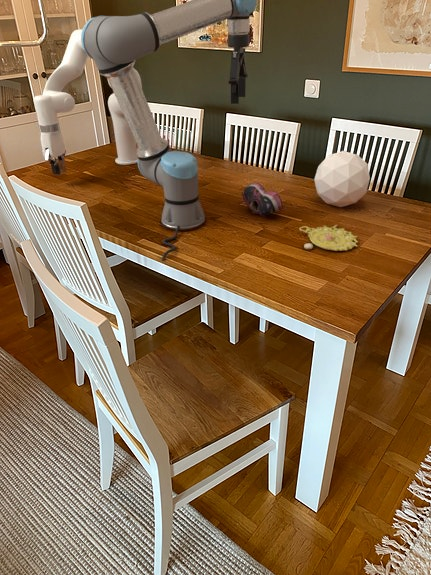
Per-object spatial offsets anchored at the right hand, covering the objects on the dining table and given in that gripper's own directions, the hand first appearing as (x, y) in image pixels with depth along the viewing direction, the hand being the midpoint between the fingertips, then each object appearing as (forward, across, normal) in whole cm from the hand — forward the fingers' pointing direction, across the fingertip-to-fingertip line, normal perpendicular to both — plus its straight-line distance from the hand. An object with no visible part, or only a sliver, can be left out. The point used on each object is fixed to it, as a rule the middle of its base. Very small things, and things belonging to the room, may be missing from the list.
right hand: (238, 100), depth 163 cm
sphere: (+34, +9, +40) cm, 54 cm away
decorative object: (+34, +40, +37) cm, 64 cm away
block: (+29, +6, -77) cm, 82 cm away
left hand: (+29, +6, -77) cm, 82 cm away
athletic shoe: (+34, +20, +11) cm, 42 cm away
